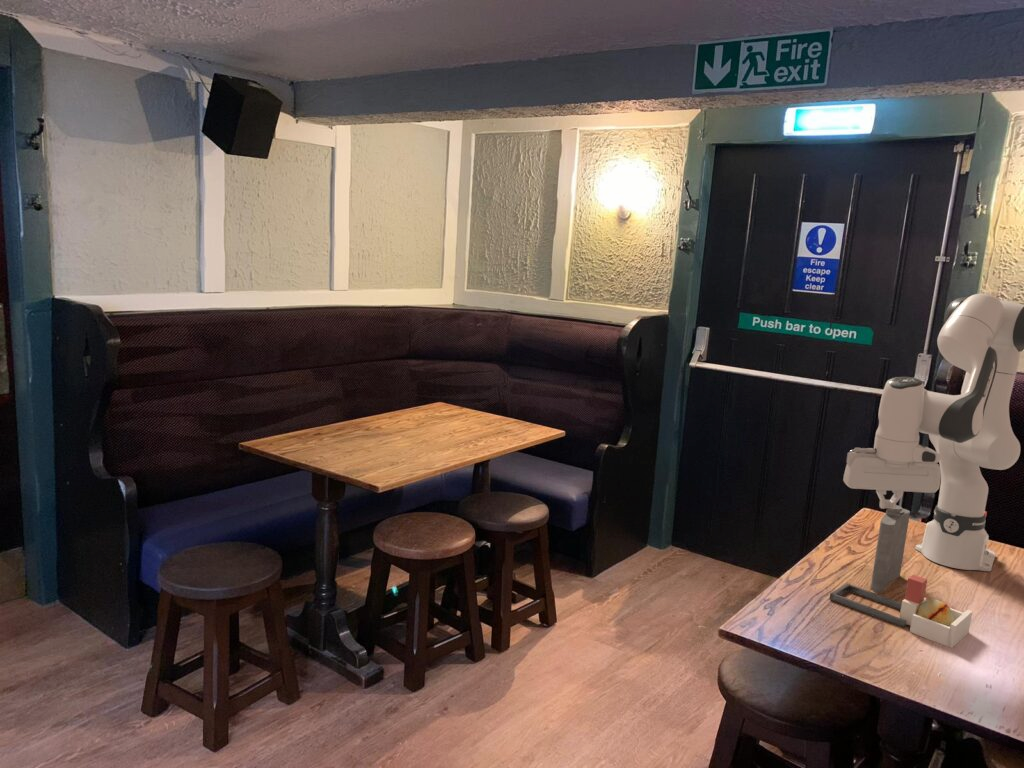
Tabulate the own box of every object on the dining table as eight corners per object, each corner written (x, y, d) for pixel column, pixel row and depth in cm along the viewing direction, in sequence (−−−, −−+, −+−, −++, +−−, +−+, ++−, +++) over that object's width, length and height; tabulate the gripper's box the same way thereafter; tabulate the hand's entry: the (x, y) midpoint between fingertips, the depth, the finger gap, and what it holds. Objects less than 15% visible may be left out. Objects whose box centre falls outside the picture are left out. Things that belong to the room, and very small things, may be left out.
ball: (908, 626, 173) (912, 597, 171) (928, 620, 176) (932, 591, 175) (937, 641, 167) (942, 611, 165) (957, 635, 170) (962, 605, 169)
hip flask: (882, 594, 189) (894, 515, 185) (864, 588, 191) (876, 511, 187) (901, 575, 200) (913, 501, 197) (884, 570, 203) (896, 497, 199)
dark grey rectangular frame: (846, 588, 190) (847, 583, 190) (919, 615, 178) (920, 609, 178) (829, 599, 184) (830, 593, 184) (904, 627, 172) (905, 621, 172)
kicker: (909, 613, 178) (915, 572, 176) (922, 618, 176) (929, 577, 174) (898, 621, 174) (905, 579, 172) (912, 626, 172) (919, 584, 170)
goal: (927, 617, 178) (931, 597, 177) (968, 632, 172) (972, 611, 171) (909, 631, 170) (913, 610, 169) (951, 647, 164) (955, 626, 163)
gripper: (853, 450, 171) (846, 510, 174) (948, 455, 171) (938, 515, 173) (843, 443, 178) (835, 501, 180) (934, 448, 177) (925, 506, 179)
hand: (887, 508), depth 177 cm, fingers closed
